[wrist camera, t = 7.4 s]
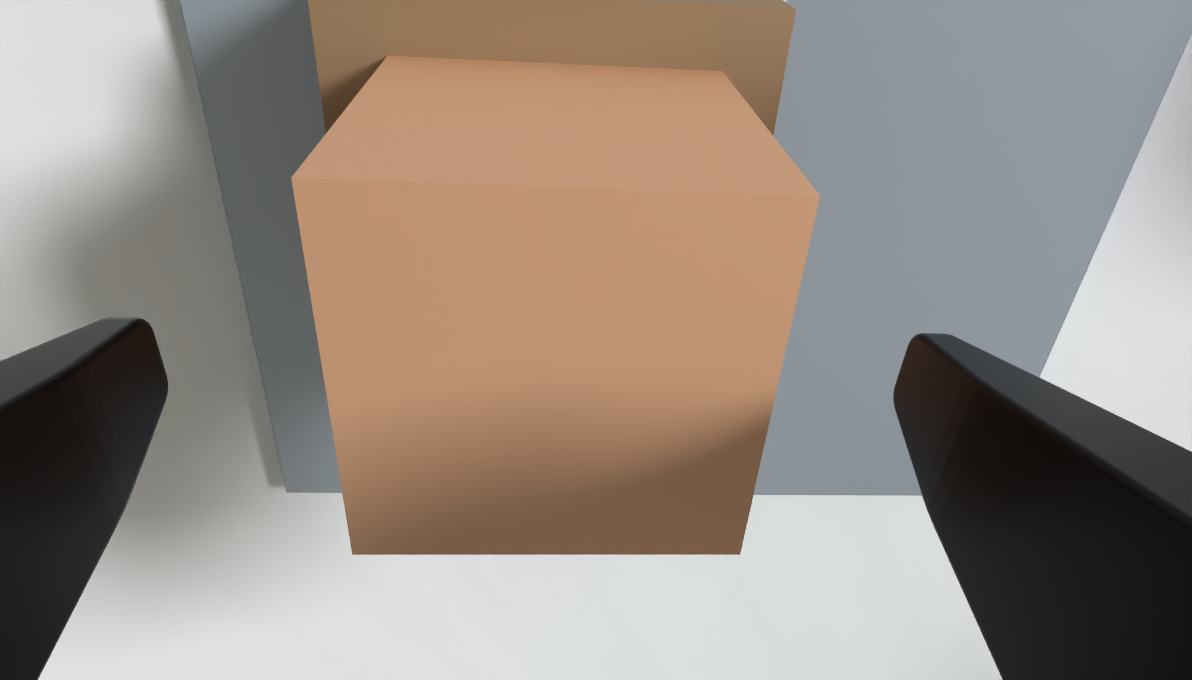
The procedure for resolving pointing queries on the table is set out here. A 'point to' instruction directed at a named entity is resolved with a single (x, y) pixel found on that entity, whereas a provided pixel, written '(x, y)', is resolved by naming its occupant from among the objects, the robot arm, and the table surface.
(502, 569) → the table surface
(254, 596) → the table surface
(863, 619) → the table surface
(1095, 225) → the plate
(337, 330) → the top block
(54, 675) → the table surface
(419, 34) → the base block
